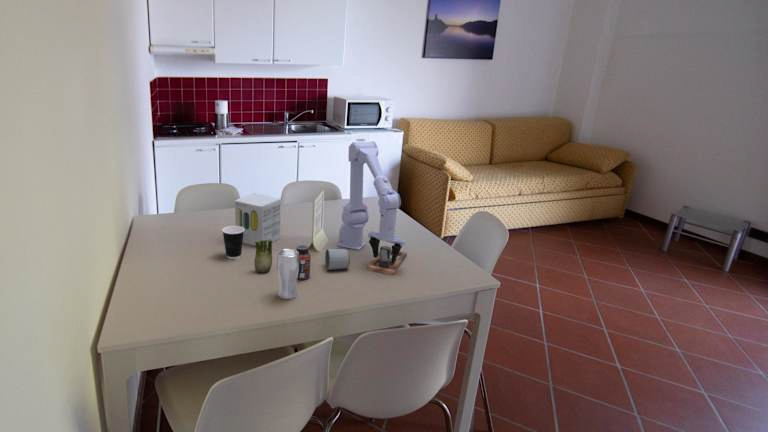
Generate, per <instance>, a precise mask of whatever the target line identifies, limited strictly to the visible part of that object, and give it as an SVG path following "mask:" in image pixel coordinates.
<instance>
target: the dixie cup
mask: <svg viewBox="0 0 768 432" xmlns="http://www.w3.org/2000/svg"><path fill="white" fill-rule="evenodd" d="M221 232H222V235H223V242H224V247H225V248H224V249H225V254H226V255H225V256H226V258H227V259H228V258H229V259H228V260H238V259H240V258H241V256H242V251H243V243H242V242H243V232H244V228H243V227H240V226H236V225H228V226H224V227H223V228H222V229H221Z"/></svg>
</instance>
